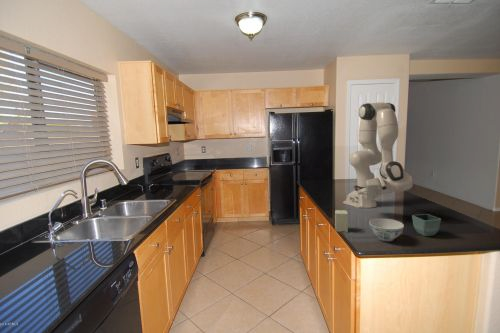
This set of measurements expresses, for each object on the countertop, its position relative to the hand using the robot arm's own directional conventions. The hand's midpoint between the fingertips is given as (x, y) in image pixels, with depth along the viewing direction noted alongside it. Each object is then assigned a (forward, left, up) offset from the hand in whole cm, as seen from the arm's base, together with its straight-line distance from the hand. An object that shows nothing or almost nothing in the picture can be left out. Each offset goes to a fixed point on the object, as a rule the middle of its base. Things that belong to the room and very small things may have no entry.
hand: (358, 192), depth 154 cm
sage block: (+5, -24, -16) cm, 29 cm away
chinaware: (+26, -18, -16) cm, 35 cm away
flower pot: (+36, +1, -16) cm, 39 cm away
